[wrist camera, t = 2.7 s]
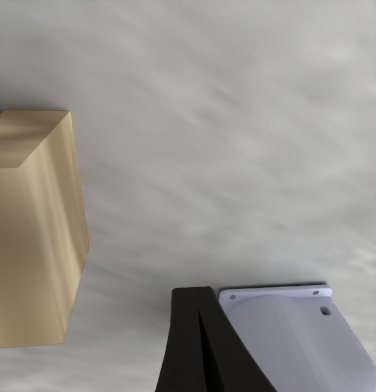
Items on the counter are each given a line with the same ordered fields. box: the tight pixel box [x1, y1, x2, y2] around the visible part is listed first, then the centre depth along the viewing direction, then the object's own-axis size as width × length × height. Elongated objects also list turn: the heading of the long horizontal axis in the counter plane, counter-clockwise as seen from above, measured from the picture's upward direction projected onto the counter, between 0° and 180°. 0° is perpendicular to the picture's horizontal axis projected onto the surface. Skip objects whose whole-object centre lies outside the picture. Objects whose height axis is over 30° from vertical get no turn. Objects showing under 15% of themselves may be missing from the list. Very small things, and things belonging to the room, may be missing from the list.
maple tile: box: [0, 109, 89, 348], centre depth 14 cm, size 3×9×7 cm, turn 177°
